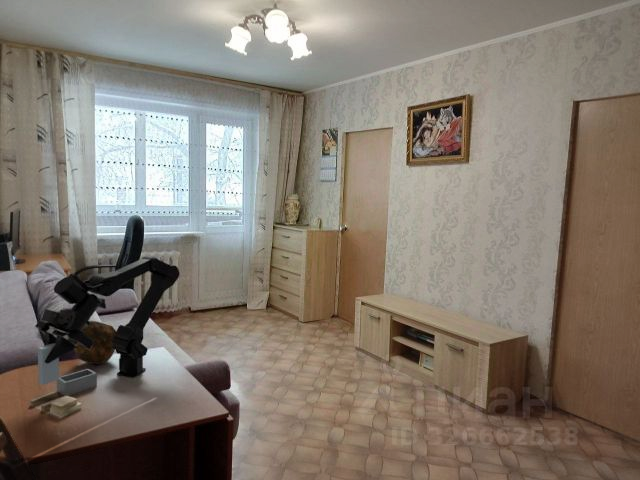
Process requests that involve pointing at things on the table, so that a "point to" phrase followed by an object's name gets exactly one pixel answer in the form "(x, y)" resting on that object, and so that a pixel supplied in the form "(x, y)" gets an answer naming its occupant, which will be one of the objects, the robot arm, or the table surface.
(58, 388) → the holder
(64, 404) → the rack
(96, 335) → the rock
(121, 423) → the table surface
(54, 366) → the panel
